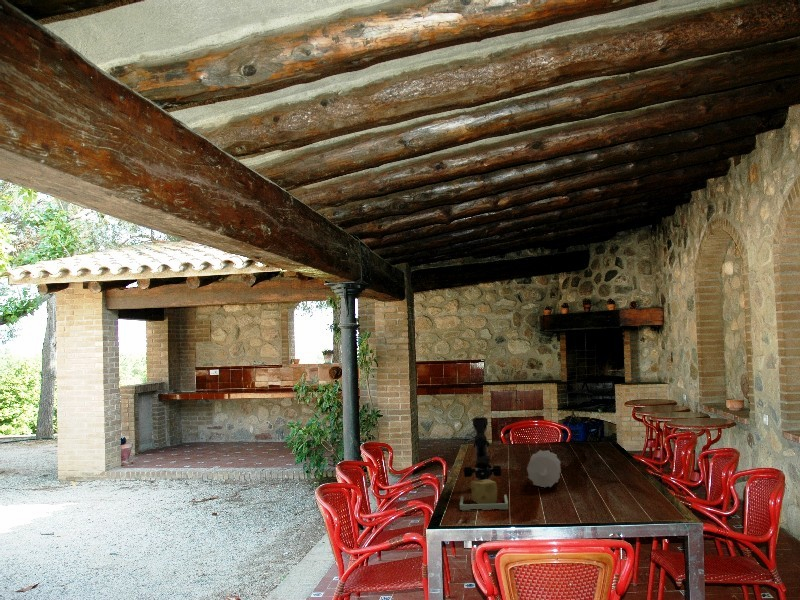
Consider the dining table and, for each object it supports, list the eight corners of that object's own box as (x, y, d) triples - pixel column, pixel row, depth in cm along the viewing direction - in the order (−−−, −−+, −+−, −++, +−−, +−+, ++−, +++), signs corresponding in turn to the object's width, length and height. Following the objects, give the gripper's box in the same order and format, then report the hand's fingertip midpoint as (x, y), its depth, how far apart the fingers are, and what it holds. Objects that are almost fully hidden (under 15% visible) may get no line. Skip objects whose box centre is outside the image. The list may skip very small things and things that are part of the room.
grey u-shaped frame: (461, 501, 348) (460, 496, 349) (506, 499, 346) (506, 494, 346) (460, 510, 329) (459, 505, 330) (508, 509, 327) (508, 503, 327)
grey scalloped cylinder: (554, 487, 387) (553, 495, 363) (523, 473, 392) (521, 480, 368) (566, 456, 387) (566, 462, 363) (536, 443, 392) (534, 448, 368)
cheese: (477, 505, 338) (476, 484, 339) (471, 500, 349) (470, 480, 350) (498, 503, 340) (496, 482, 341) (491, 498, 351) (490, 478, 351)
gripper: (462, 450, 358) (463, 476, 346) (499, 449, 356) (501, 475, 344) (464, 463, 365) (464, 489, 354) (500, 462, 363) (502, 488, 352)
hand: (483, 485), depth 351 cm, fingers closed
